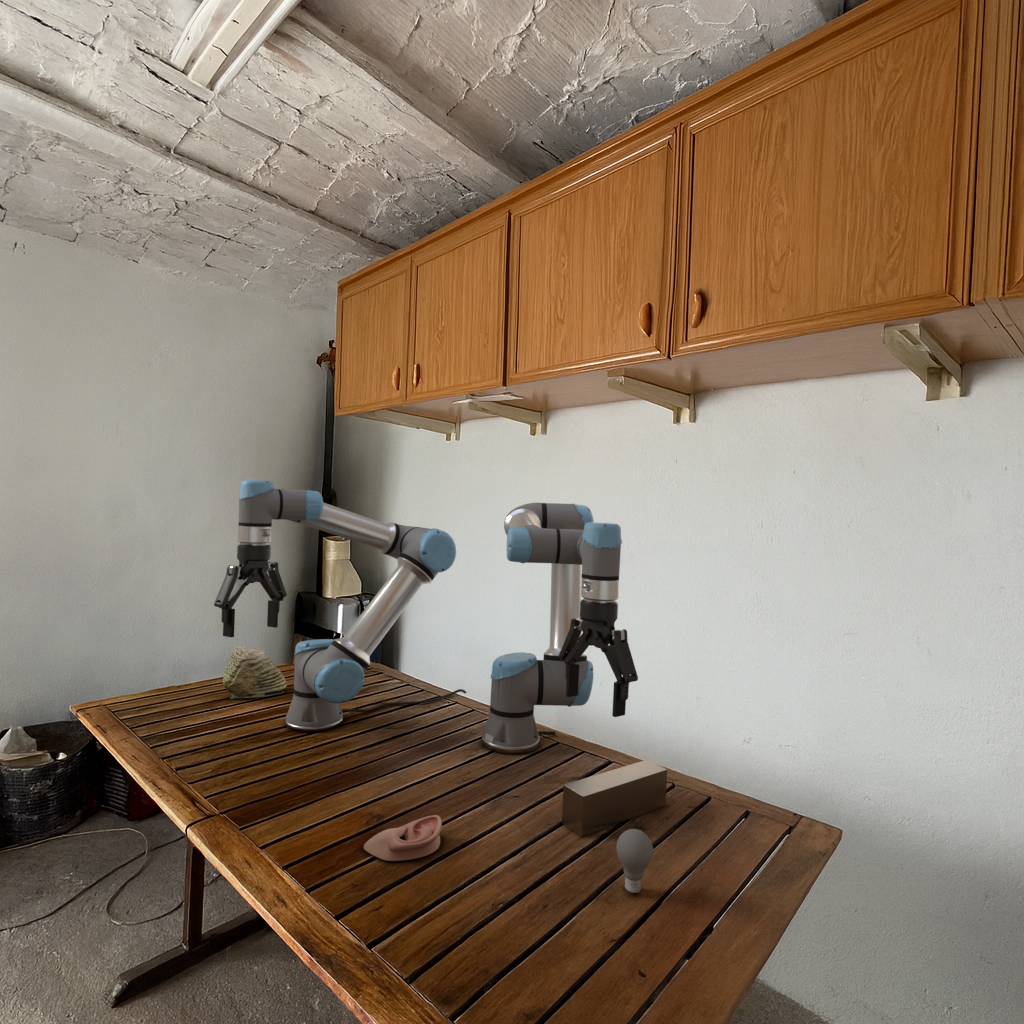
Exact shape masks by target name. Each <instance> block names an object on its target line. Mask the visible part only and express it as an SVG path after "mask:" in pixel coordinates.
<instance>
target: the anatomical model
mask: <svg viewBox="0 0 1024 1024" xmlns="http://www.w3.org/2000/svg"><path fill="white" fill-rule="evenodd" d="M442 826H443V822H442V818H441V816H440V815H437V814H433V815H428V816H424V817H421V818H417V819H414V820H412V821H410V822H408V823H406V824H404V825H401V826H398V827H392V828H388V829H384V830H382V831H380V832H378V833H377V834H375V835H373V836H372V837H370V838H369V839H368V840H367V841H366V842H365V843H364V845H363V850H364V851H365V852H367V853H368V854H370V855H371V856H373V857H375V858H377V859H380V860H382V861H385V862H386V861H387V862H400V861H408V860H409V861H410V860H414V859H415V860H416V859H420V858H423V857H426V856H429V855H431V854H433V853H435V852H436V851H437V850H438V849H439V847H440V845H441V835H440V834H441V831H442Z"/></svg>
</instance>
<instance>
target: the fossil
mask: <svg viewBox="0 0 1024 1024" xmlns="http://www.w3.org/2000/svg"><path fill="white" fill-rule="evenodd" d="M222 676H223V677H222V685H223V687H224V688H225V690H226V691H228V693H229V698H230V699H250V698H264V697H271V696H275V695H281V694H284V693H285V691H286V689H287V687H288V686H287V680H286V678H285V676H284V674H283V673H282V672H281V669H279V668H278V667H277V665H276V663H275V662H274V660H273V659H272V658H271V657H270V656H269V655H268V654H267V653H266V652H265V650H264V649H263V648H260V647H258V648H251V647H247V646H246V647H245V646H238V647H237V648H236V649H235V650H233V651H232V653H231V656H230V657H229V659H228V660H227V663H226V666H225V668H224V671H223V675H222Z"/></svg>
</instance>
